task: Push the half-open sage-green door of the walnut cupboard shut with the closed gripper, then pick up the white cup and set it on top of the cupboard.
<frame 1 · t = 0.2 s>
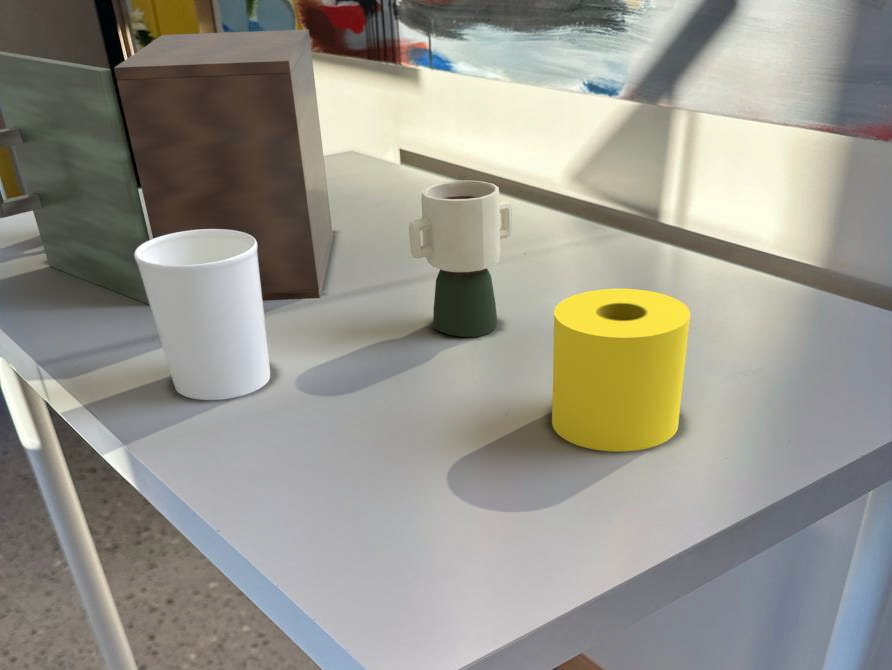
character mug: (465, 333, 95), on the table
phone stand: (83, 238, 123), on the table
yellow toilet paper roll: (614, 430, 78), on the table
cupboard: (257, 269, 111), on the table
white cup: (224, 387, 86), on the table
cupboard door: (53, 184, 100), point 11 cm above the table, hinge at 45.0°
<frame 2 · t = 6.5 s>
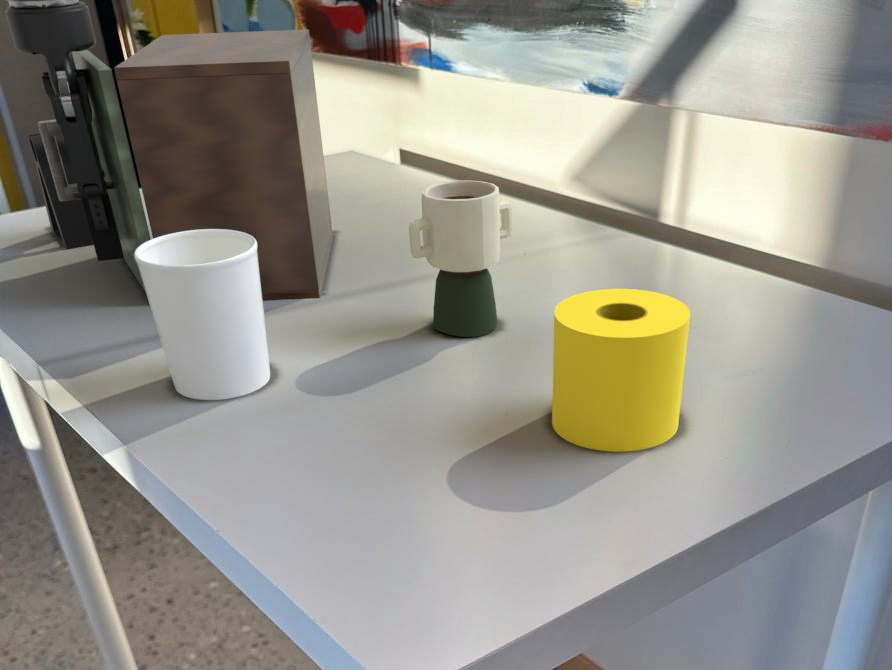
hand: (110, 257, 106), 3 cm above the table, tool pointing down, fingers closed
cupboard door: (90, 175, 102), point 11 cm above the table, hinge at 22.7°, touching hand
everything else where it was.
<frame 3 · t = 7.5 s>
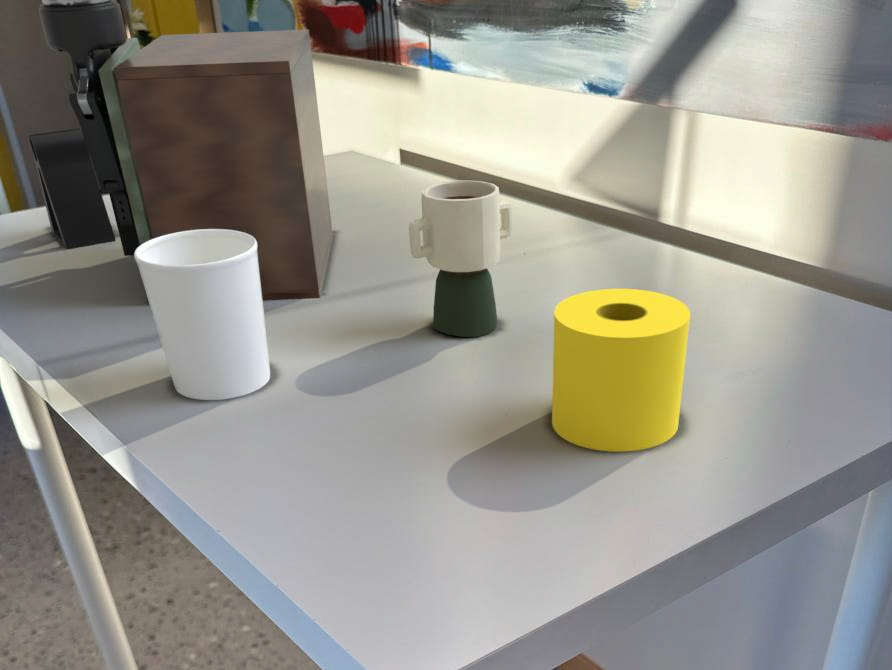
hand: (138, 252, 107), 3 cm above the table, tool pointing down, fingers closed
cupboard door: (120, 171, 104), point 11 cm above the table, hinge at 6.4°, touching hand
everything else where it was.
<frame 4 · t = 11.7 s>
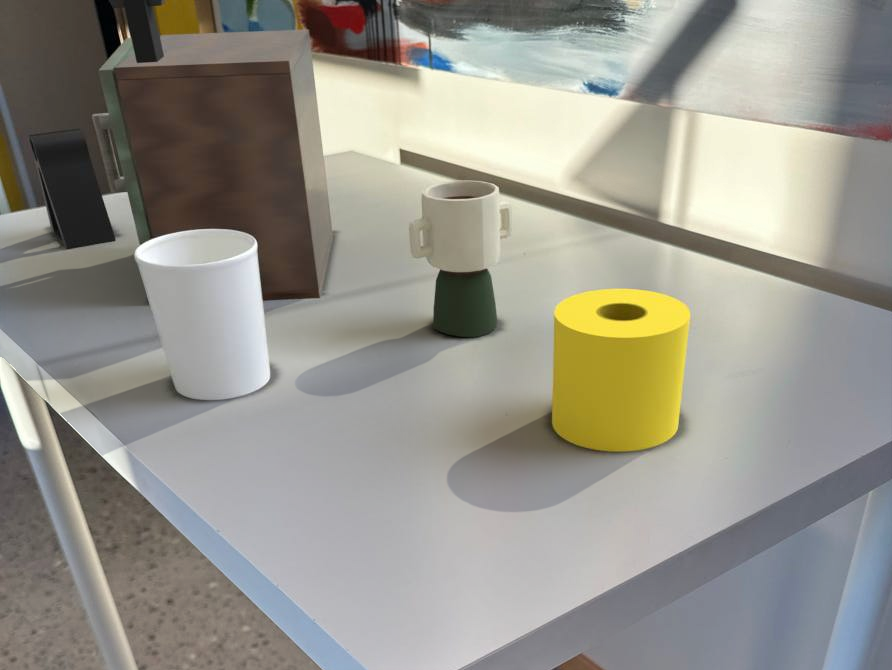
hand: (150, 59, 72), 25 cm above the table, tool pointing down, fingers closed
cupboard door: (120, 171, 104), point 11 cm above the table, hinge at 6.4°
everything else where it was.
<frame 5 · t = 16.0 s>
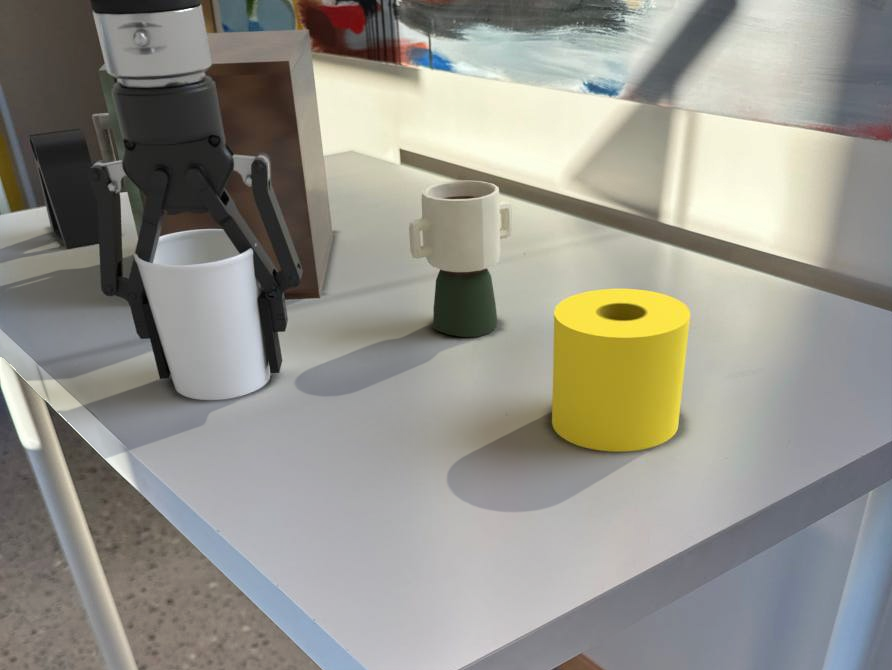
hand: (221, 369, 85), 2 cm above the table, tool pointing down, fingers closed on white cup, 9 cm apart
white cup: (224, 387, 86), on the table, touching gripper
everything else where it was.
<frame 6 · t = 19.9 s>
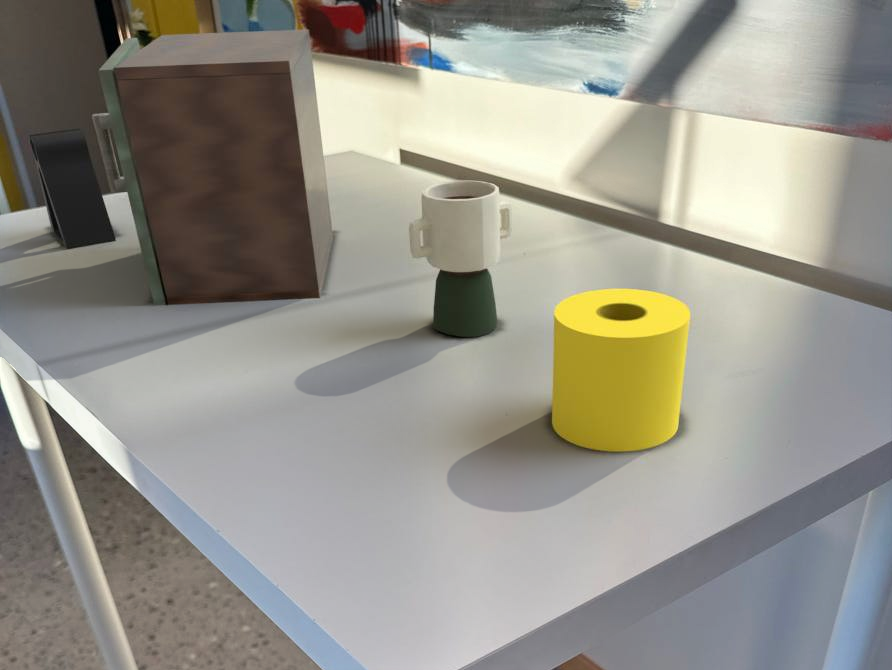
when the fingers open (23 cm above the table, at t = 23.9 s): white cup stays where it is, resting on cupboard.
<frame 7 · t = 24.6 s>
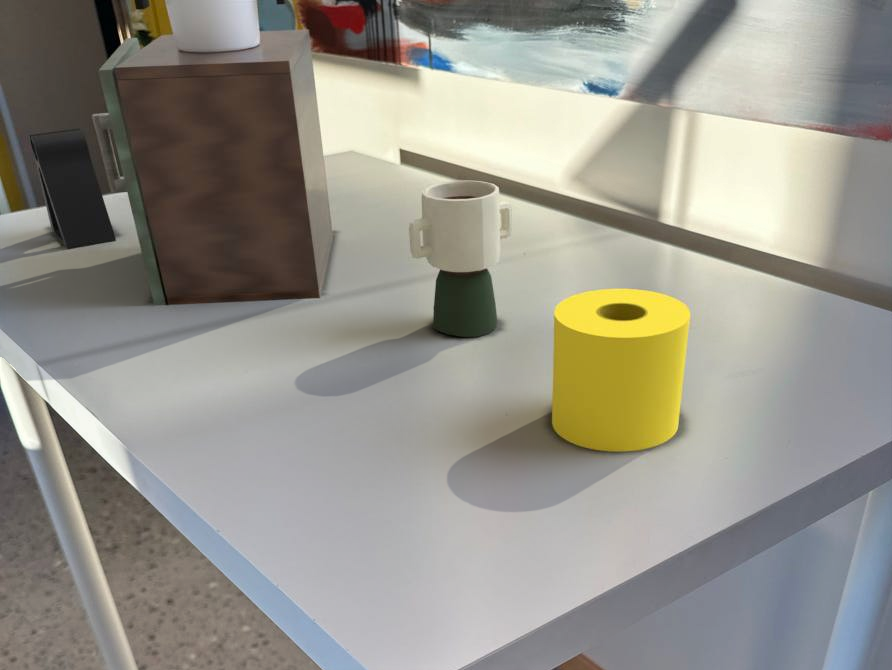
hand: (212, 5, 95), 25 cm above the table, tool pointing down, fingers open, 13 cm apart
white cup: (219, 48, 97), point 22 cm above the table, touching cupboard
everything else where it was.
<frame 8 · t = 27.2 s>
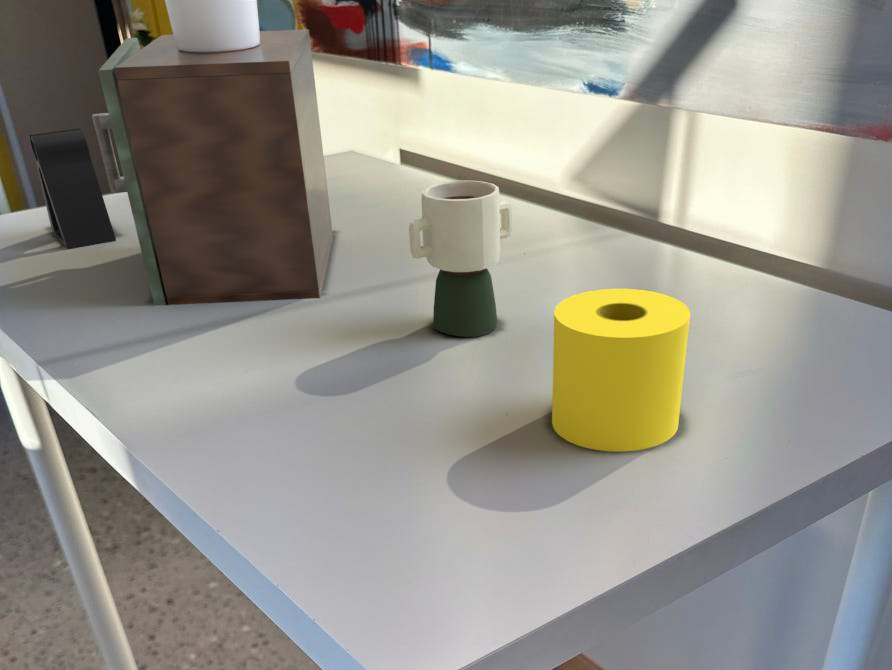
nothing on the table moved.
at the end: cupboard door at +6° (first picture: +45°); white cup inside the target area on the cupboard (0.1 cm from its centre), point 21.8 cm above the cupboard's base; white cup tilted 0° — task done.
